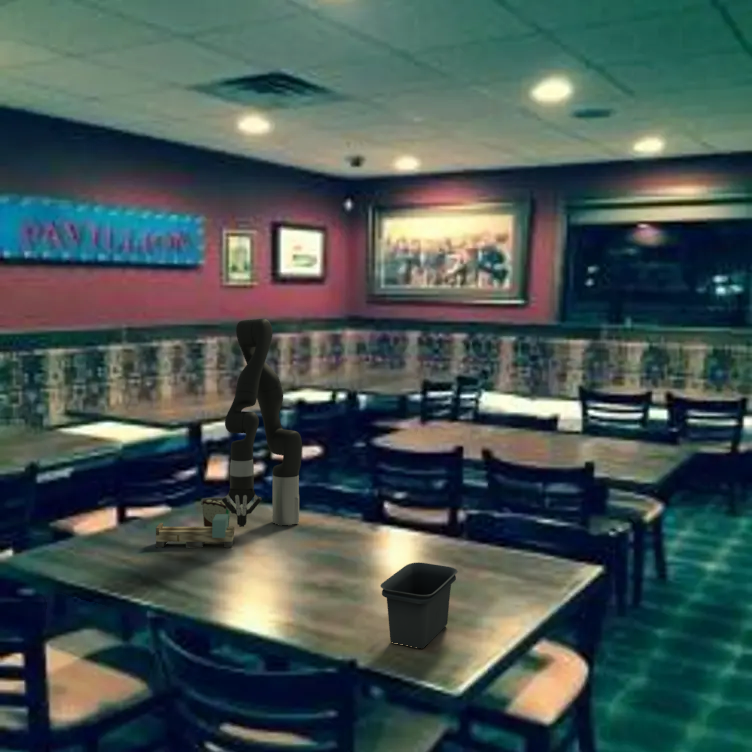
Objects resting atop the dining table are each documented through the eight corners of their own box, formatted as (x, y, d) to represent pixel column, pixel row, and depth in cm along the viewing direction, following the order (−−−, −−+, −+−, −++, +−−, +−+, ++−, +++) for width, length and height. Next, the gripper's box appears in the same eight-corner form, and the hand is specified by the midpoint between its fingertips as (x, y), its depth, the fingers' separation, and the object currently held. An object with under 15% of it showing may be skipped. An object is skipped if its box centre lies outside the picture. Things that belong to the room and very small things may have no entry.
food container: (239, 528, 293) (239, 500, 292) (227, 532, 288) (227, 503, 287) (213, 523, 299) (213, 495, 298) (201, 527, 294) (200, 498, 293)
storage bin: (428, 657, 191) (430, 595, 190) (366, 644, 198) (367, 585, 197) (460, 624, 211) (461, 568, 209) (402, 614, 217) (403, 559, 216)
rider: (228, 530, 278) (228, 513, 277) (224, 537, 269) (224, 521, 269) (216, 530, 278) (216, 513, 277) (212, 537, 269) (212, 521, 268)
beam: (234, 542, 277) (234, 522, 277) (231, 548, 271) (231, 528, 270) (160, 541, 276) (160, 522, 276) (155, 547, 270) (155, 528, 269)
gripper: (263, 471, 276) (263, 523, 277) (222, 470, 275) (222, 522, 277) (261, 475, 268) (261, 529, 270) (219, 475, 268) (219, 529, 269)
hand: (241, 526), depth 273 cm, fingers closed
